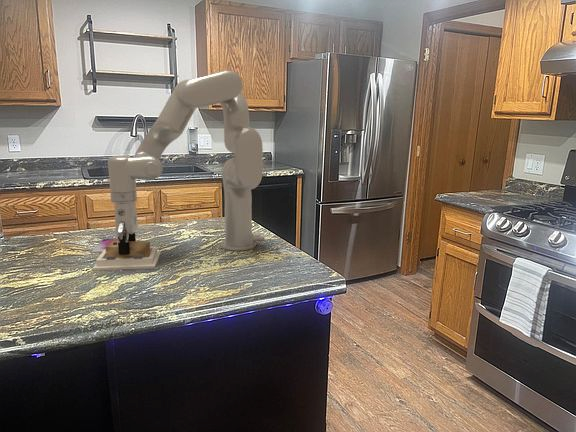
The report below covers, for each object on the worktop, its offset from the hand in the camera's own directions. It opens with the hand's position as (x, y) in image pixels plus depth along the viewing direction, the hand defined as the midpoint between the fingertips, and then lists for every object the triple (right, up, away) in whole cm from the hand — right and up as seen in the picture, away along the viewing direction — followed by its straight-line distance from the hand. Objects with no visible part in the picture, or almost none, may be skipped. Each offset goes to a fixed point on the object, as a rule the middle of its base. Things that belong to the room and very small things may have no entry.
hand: (127, 249), depth 136 cm
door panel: (0, -3, +1) cm, 3 cm away
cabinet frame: (0, -4, +1) cm, 4 cm away
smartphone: (-13, -1, +16) cm, 21 cm away
